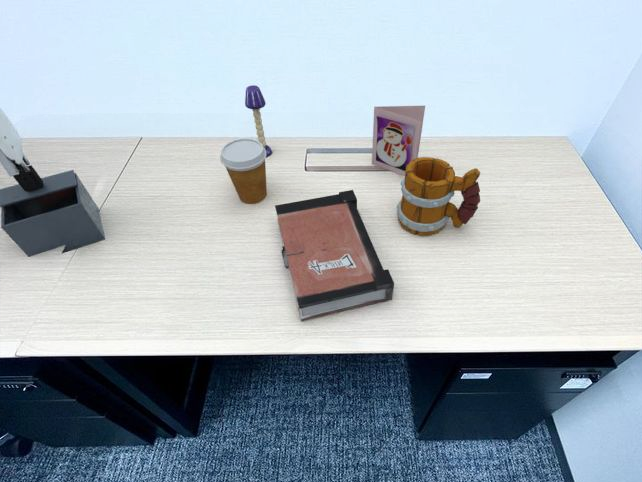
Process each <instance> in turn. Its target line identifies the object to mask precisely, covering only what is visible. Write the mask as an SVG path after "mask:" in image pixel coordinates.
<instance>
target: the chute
mask: <svg viewBox="0 0 642 482" xmlns="http://www.w3.org/2000/svg"><path fill="white" fill-rule="evenodd" d="M74 173H75V178H76V184H77V186H75V187H72V188H68V189H64V190H61V191H57V192H54V193H50V194H47V195H43V196H39V197H36V198H32V199H29V200H25V201H21V202H18V203H14V204H11V205H7V206H4V207H0V210H1V211H0V216H1V217H0V228H1V229H2V230H3V231H4V232H5V234H7V235H8V236H9V237H10V239H11V240H12V241H13V242H14V243H15V244H16V246H17V247H19V248H20V249H21V251H22V252H23V253H24V254H25V255H26V256H27V257H28V258H29V257H33V256H36V255H39V254H42V253H45V252H49V251H51V250H54V249H55V250H56V249H58V248H61V247H63V249H62V251H61V254H62V255H63V254H65V253H67V252H71V251H73V250H77V249H80V248H83V247H86V246H89V245H93V244H96V243H99V242H101V241H104V240H106V237H105V236H106V235H105V232H104V228H103V222H102V219H101V214H100V209H99V207H98V205H97V204H96V202H95V201H94V199H93V197H91V194H90V193H89V191H88V190H87V188H86V186H85V185H84V183H83V182H82V180H81V179H80V177H79V176H78V174H77V173H76V172H74Z"/></svg>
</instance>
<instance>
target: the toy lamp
mask: <svg viewBox="0 0 642 482" xmlns="http://www.w3.org/2000/svg"><path fill="white" fill-rule="evenodd" d="M266 104H267V103H266V100H265V97H264V96H263V93H262V91H261V88H260V86H258V85H253V84H252V85H248V86H247V87H245V97H244V106H245V107H246V108H247V109H250V110H251V111H252V116H253V118H254V119H253V120H254V121H253V122H254V124H255V125H254V126H255V130H256V136H257V141H259V142H260V143H261V144H262V145H263V147H264V148H265V150H266V154H267V155H266V158H267V157H270V156H271V155H272V154H273V150H272V148H271V146H269V145H267V142H266V137H265V130H264V125H263V119H262V113H261V109H263V108H264V107H265V106H266Z"/></svg>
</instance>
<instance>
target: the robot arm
mask: <svg viewBox="0 0 642 482" xmlns="http://www.w3.org/2000/svg"><path fill="white" fill-rule="evenodd" d="M0 165H1V166H2V168H3V169H4V170H5V172H6V173H7V174H8V176H9V177H13V178H14V179H15V181H16V182H17V184H19V185H20V186H21V187H22V188H23V190H24V191H26V192H28V191H32V190H36V189H39V188H43V187H44V185H43V180H42V179H41V178H42V177H41V176H40V175H39V174H38V172H37V170H36V169H35V168H34V166H33V165H32V164H31V163H30V161H29V160H28V158H27V156H26V155H25V153H24V152H23V141H22V137H21V135H20V133H19V132H18V130H17V128H16V127H15V125H14V124H13V123H12V121H11V120H10V118H9V117H8V116H7V115H6V113H5V112H4V110H3V109H2V108H1V107H0Z"/></svg>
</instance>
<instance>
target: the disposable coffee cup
mask: <svg viewBox="0 0 642 482" xmlns="http://www.w3.org/2000/svg"><path fill="white" fill-rule="evenodd" d="M266 155H267V154H266V150H265V148H264V147H263V145H262V144H261V143H260V142H259V141H258V139H254V138H249V137H243V138H236V139H233V140H231V141H228V142H227V143H225V144H224V145H223V146H222V147H221V150H220V156H219V159H220V162H221V164H222V165H223V167H225V169H226V172H227V174H228V176H229V178H230V180H231V183H232V185H233V187H234V189H235V191H236V194H237V196H238V198H239V200H240V202H242V203H244V204H246V205H254V204H255V205H256V204H258V203H261V202H263V201H264V200H265V199H266V198H267V195H268V189H267V187H268V186H267V170H266V158H267V157H266Z"/></svg>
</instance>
